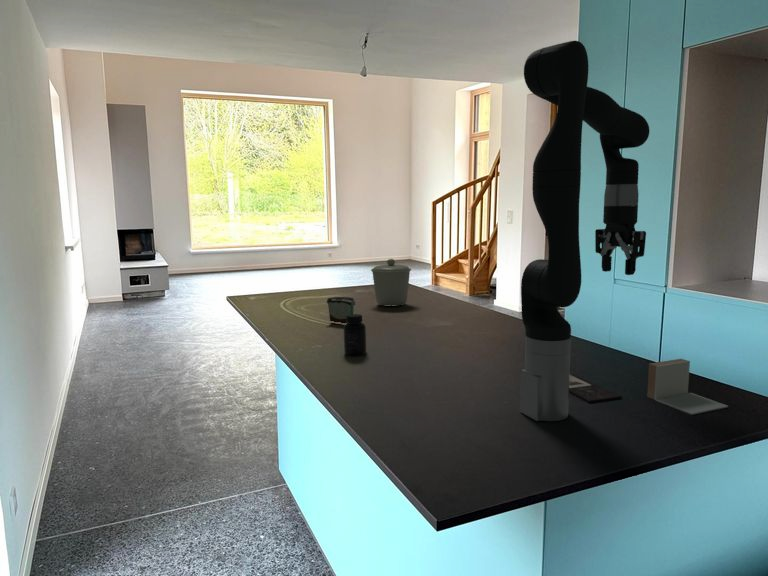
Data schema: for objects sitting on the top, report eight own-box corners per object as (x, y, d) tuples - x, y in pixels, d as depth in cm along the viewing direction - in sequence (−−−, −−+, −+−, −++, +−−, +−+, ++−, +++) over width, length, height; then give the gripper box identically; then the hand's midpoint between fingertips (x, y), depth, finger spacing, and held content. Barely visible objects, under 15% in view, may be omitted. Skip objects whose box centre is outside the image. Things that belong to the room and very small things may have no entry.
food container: (362, 323, 213) (361, 298, 211) (353, 326, 208) (352, 300, 206) (336, 320, 219) (336, 295, 218) (327, 323, 214) (326, 298, 213)
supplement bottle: (371, 353, 170) (370, 315, 169) (355, 357, 165) (354, 318, 164) (355, 349, 175) (354, 312, 173) (339, 353, 170) (338, 315, 168)
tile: (655, 400, 126) (657, 366, 125) (647, 396, 128) (649, 363, 127) (687, 394, 130) (689, 361, 129) (678, 390, 132) (681, 358, 131)
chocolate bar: (588, 400, 125) (543, 377, 142) (588, 404, 125) (543, 381, 142) (621, 396, 127) (573, 374, 144) (621, 400, 128) (573, 377, 145)
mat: (691, 414, 117) (691, 413, 117) (655, 400, 126) (655, 399, 126) (728, 407, 121) (728, 405, 121) (690, 393, 130) (690, 392, 129)
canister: (368, 308, 243) (367, 261, 240) (375, 301, 261) (374, 257, 257) (409, 309, 240) (408, 261, 237) (413, 301, 258) (413, 256, 254)
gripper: (587, 204, 137) (584, 270, 139) (632, 204, 124) (628, 277, 126) (610, 203, 140) (608, 269, 142) (657, 203, 126) (653, 275, 129)
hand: (617, 272), depth 134 cm, fingers open, 7 cm apart
